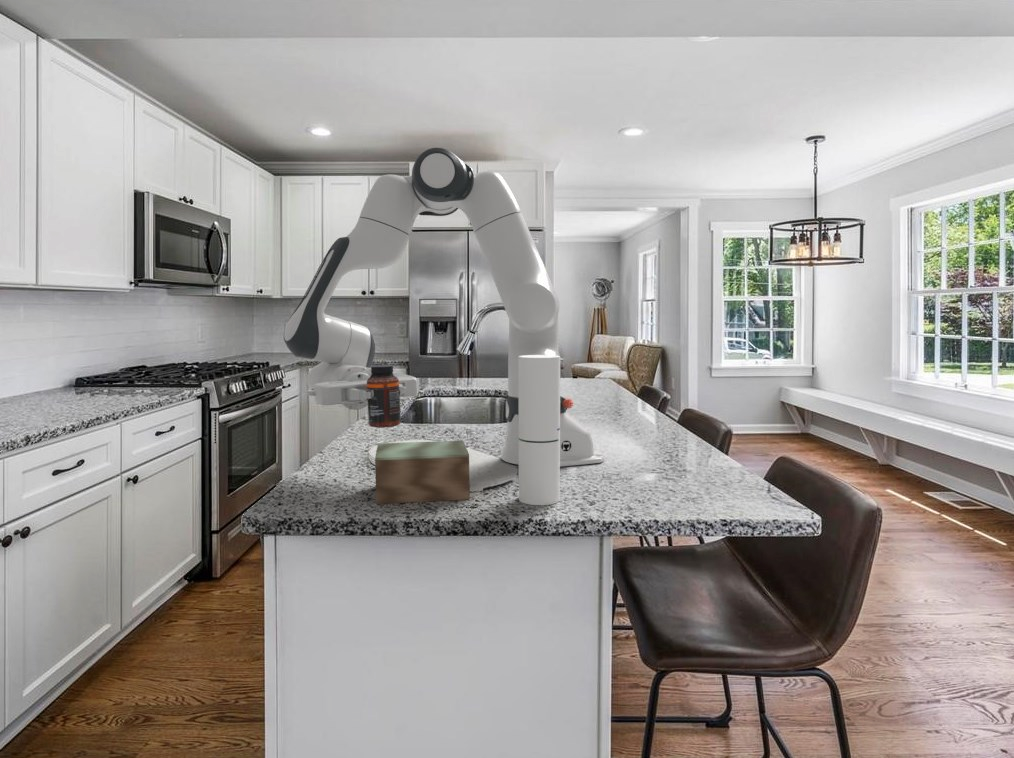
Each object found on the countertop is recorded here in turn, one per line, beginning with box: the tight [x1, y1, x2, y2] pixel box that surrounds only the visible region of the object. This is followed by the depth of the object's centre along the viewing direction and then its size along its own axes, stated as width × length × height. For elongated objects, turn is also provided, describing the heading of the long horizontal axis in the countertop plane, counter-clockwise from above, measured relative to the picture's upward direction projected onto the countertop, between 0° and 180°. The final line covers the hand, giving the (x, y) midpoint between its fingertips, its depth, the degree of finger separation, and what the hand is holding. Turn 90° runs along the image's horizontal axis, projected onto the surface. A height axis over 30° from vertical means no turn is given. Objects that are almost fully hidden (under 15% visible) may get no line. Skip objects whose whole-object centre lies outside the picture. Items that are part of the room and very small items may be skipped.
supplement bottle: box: [367, 364, 402, 429], centre depth 119 cm, size 6×6×11 cm
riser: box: [374, 440, 471, 505], centre depth 116 cm, size 16×12×8 cm
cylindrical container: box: [518, 355, 561, 506], centre depth 110 cm, size 7×7×25 cm
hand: (385, 393), depth 118 cm, fingers closed on supplement bottle, 6 cm apart
